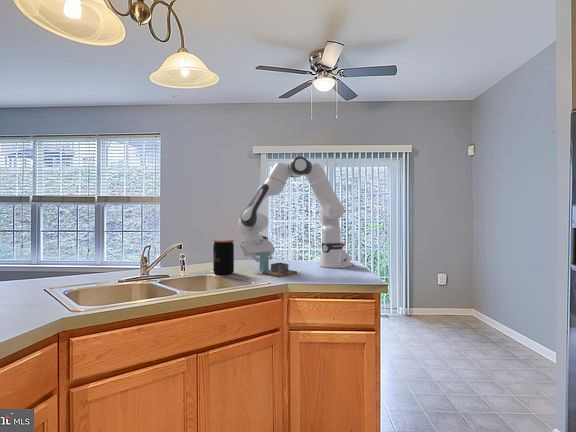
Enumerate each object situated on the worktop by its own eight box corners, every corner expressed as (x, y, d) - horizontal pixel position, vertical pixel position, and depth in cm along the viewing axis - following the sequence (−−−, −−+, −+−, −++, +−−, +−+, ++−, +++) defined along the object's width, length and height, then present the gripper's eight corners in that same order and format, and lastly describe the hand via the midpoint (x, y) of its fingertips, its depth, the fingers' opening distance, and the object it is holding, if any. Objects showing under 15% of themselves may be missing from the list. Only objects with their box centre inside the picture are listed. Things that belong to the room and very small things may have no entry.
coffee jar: (212, 272, 181) (212, 239, 180) (232, 271, 184) (232, 238, 183) (214, 276, 170) (214, 240, 170) (235, 274, 174) (235, 240, 173)
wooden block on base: (281, 270, 185) (281, 261, 185) (297, 273, 176) (297, 263, 176) (262, 273, 176) (262, 264, 176) (277, 277, 167) (277, 266, 167)
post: (264, 269, 188) (264, 252, 188) (268, 270, 185) (268, 252, 185) (259, 270, 186) (259, 252, 185) (263, 271, 183) (263, 253, 183)
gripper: (241, 238, 183) (252, 258, 176) (269, 236, 197) (281, 254, 190) (236, 246, 187) (247, 265, 180) (265, 243, 200) (275, 261, 193)
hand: (264, 260), depth 185 cm, fingers open, 8 cm apart
